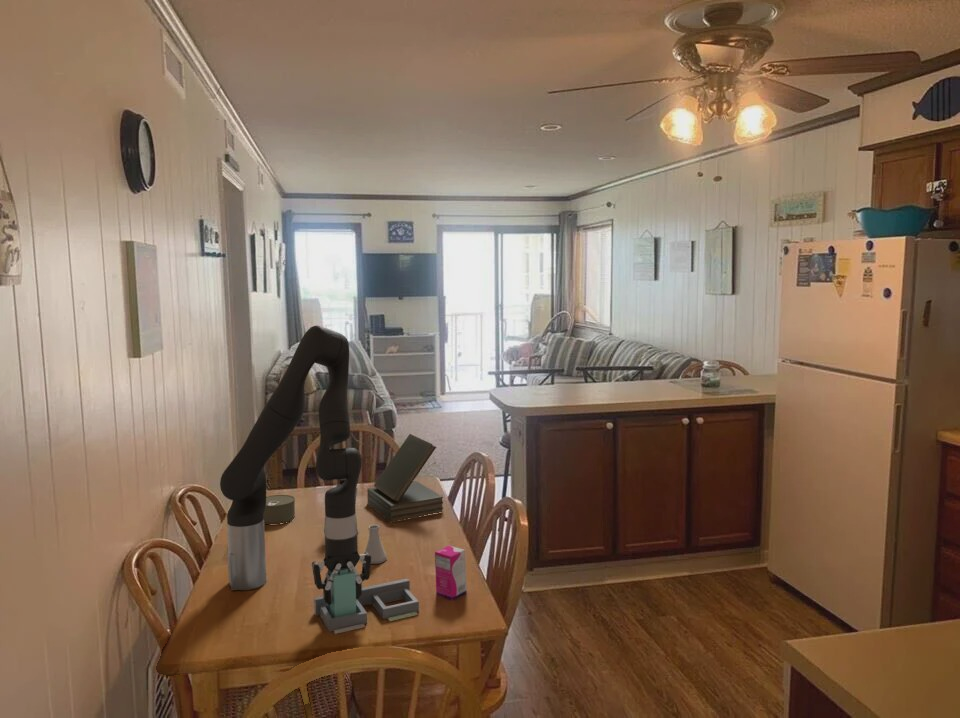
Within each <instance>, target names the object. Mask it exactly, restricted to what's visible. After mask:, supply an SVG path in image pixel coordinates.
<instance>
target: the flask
mask: <svg viewBox="0 0 960 718" xmlns="http://www.w3.org/2000/svg"><path fill="white" fill-rule="evenodd" d="M379 530H380V525H378V524H371V525H369V526H368V532H369V536H368V540H367V544H366V548H365V550H364V553H365V552H367V553H368V554H369V555H370V556H371V565H377V564H378V565H379V564H382V563H384V562H386V561H387V553H386V552H385V548H384V547H383V544H382V543H383V542H382V541H381V538H380V532H379Z"/></svg>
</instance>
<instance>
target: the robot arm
mask: <svg viewBox="0 0 960 718" xmlns="http://www.w3.org/2000/svg"><path fill="white" fill-rule="evenodd" d="M314 364H318V365H319V366H320V365H321V366H323V367H325V368H326V369H327V371H328V376H329V377H328V378H329V381H328V385H327V387H326V390H325V392H324V394H323V396H322V397H321V400H320V403H319V406H318V423H319V430H320V432H319V434H320V438H319V439H320V440H319V446H318V452H317V457H316V461H315V472H316V475H317V476H318V478H319V479H320V480H322V481H333V480H334V481H335V480H340V479H346V480H345V482H344V483H343V484H342V485H340V486H337V485H336V486H337V487H336V486H335V487H332V488H329V489H328V490H327V491H326V492H325V493H324V523H323V525H324V527H323V528H324V529H323V533H324V552H325V553H324V554H325V555H324V558H323V560H320V561H318V562H317V561H312V563H311V568H312V575H313V580H314V585H315V587H316V588H317V590H322V593H323V594H322V596H323V599H324V601H325V602H326V603H327V604H328V605H331V589H330V587H331V585H332V583H333V575H337V574H338V573H339V570H340V569H342V568H348V571H351V572H355V584H356V599H359V596H361V594H362V588H363V585H362V584H363V582H364V581H368V580H369V579H370V575H371V566H372V564H371V556H370V555H369V554H368V553H367V552H365V551H364V552H363V553H359V550H358V549H359V548H358V544H359V543H358V534H357V530H358V522H357V515H356V504H355V494H356V488H357V486H358V481H359V478H360V474H361V471H362V467H363V459H362V458H363V457H362V454H361V453H360V451H359V450H358V449H357V448H356V447H344V448H333V449H331V448H332V447H333V446H334V445H335V446H336V445H338V444H342V443H343V442H346V441H347V440H348V439H349V438H350V436H351V426H350V425H351V424H350V423H351V422H350V417H349V416H350V415H349V405H348V385H349V368H350V367H349V365H350V344H349V340H348V338H347V337H346V336H345V334H342V333H341V332H337V331H335V330H332V329H329V328H327V327H324V326H321V325H313V326H311V327H309V328H308V329H307V330H306V332H305V333H304V334H303V336H302V337H301V340H300V341H299V344H298V345H297V347H296V349H295V352H294V354H293V356H292V358H291V360H290V361H289V365H288V366H287V369H285V372H284V374H283V376H282V378H281V380H280V381H279V383H278V384H277V387H276V388H275V390H274V391H273V393H272V395H271V396H270V398H269V399H268V401H267V402H266V404H265V406H264V407H263V409H262V411H261V412H260V413H259V414H260V415H259V416H258V417H257V420H256V421H255V423H254V425H253V426H252V429H251V430H250V432H249V434H248V436H247V438H246V440H245V442H244V443H243V445H242V447H241V448H240V450H239V451H238V452H237V453H236V454H235V456H234V457H233V459H232V460H231V462H230V463H229V464H228V466H227V467H226V468H225V469H224V471H223V472H222V474H221V477H220V482H219V486H220V492H221V493H222V495H223V496H224V497H225V498H226V499H228V500H230V501H232V502H231V504H230V506H229V509H228V511H227V513H226V523H227V525H226V526H227V543H228V544H227V545H228V546H227V566H228V567H227V568H228V583H229V586H230V589H231V591H251V590H254V589H257V588H260V587H262V586H263V585H265V584H266V583H267V564H266V563H267V561H266V539H265V538H266V537H265V524H264V511H265V507H266V497H267V478H266V477H267V475H266V471H265V469H264V467H265V465H266V464H267V462H268V461H269V459H270V458H271V457H272V456H273V454H274V453H275V452H276V451H277V450H278V449H279V448H280V447H281V446H282V445H283V444H284V442H286V440H287V439H288V437H289V436H290V435H291V434H292V432H293V431H294V430H295V428H296V427H297V425H298V423H299V421H300V420H301V418H302V417H303V415H304V412H305V406H306V404H305V403H306V401H305V399H306V397H305V396H306V393H305V385H306V384H305V383H306V379H307V377H308V375H309V372H311V371H310V370H311V369H312V367H314ZM359 561H360V562H361V564H362V566H361V567H362V568H361V573H360V574H359V572H358V571H357V569H356V566H357V564H358V563H359ZM324 566H325V568H326V569H327V571H326V573H325V577H324V580H323V581H322V576H321V572H322V571H323V570H324V569H323V568H324ZM330 572H331V574H330Z"/></svg>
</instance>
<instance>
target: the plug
mask: <svg viewBox="0 0 960 718" xmlns="http://www.w3.org/2000/svg"><path fill="white" fill-rule="evenodd" d="M330 574H331V572H330ZM330 589H331V605H330V616H331V618H337V617H341V616H346V615H351V614H355V613H356V584H355V572H351V571H348V568H342V569H340V570H339V573H338V574H337V575H333V583H332V585H331V587H330Z"/></svg>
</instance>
